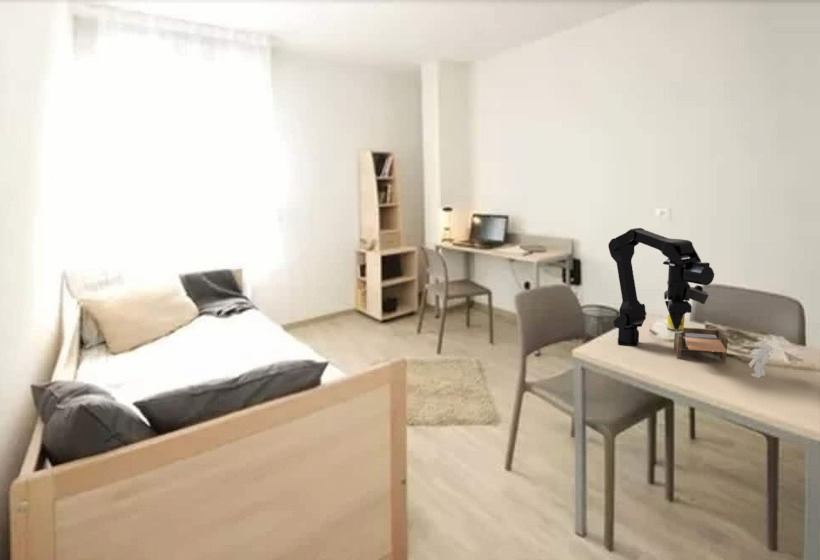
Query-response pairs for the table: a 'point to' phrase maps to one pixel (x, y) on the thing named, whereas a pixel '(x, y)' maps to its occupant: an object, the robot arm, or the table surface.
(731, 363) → the table surface
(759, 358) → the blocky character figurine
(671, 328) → the supplement bottle
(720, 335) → the stand
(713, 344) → the flap
